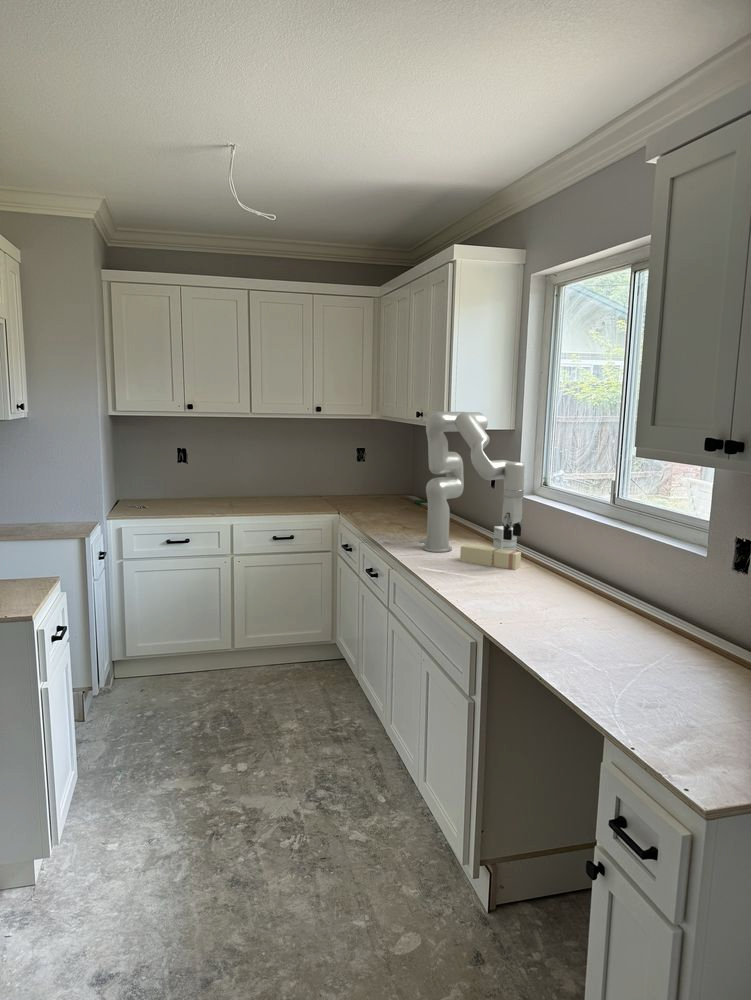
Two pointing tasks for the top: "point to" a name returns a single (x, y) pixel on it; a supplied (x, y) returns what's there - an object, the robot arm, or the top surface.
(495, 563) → the stub
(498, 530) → the supplement box
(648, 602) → the top surface
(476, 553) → the block
